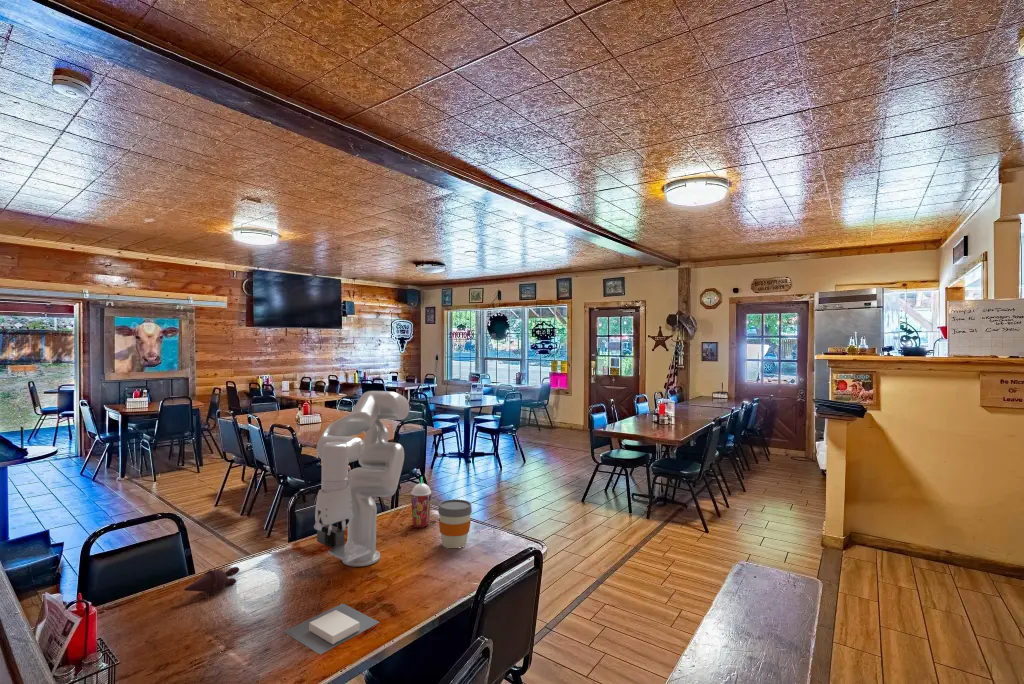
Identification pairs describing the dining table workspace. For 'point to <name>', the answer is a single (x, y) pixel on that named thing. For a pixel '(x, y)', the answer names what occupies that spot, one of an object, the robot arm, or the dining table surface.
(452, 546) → the reusable coffee cup
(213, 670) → the dining table surface
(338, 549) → the trowel
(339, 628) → the tile
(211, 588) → the icecream
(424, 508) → the smoothie
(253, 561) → the dining table surface
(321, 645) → the mat
